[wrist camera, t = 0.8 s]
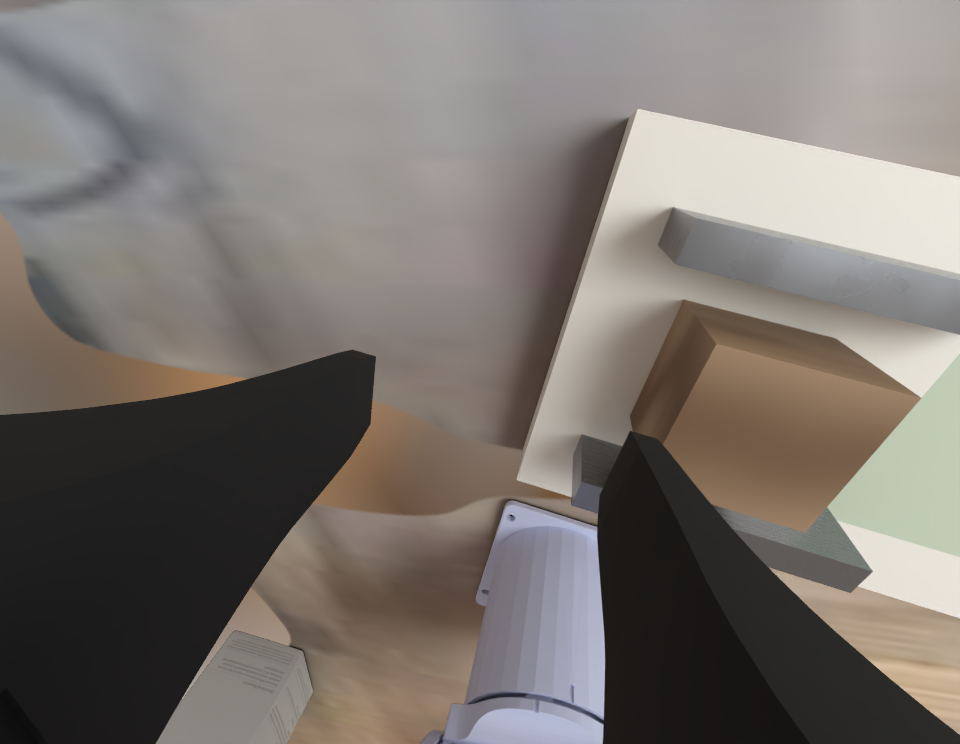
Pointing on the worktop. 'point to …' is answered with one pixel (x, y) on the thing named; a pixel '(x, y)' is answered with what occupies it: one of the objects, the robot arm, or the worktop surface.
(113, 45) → the worktop surface
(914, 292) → the channel walls
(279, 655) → the supplement box
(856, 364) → the walnut block
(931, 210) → the channel board
